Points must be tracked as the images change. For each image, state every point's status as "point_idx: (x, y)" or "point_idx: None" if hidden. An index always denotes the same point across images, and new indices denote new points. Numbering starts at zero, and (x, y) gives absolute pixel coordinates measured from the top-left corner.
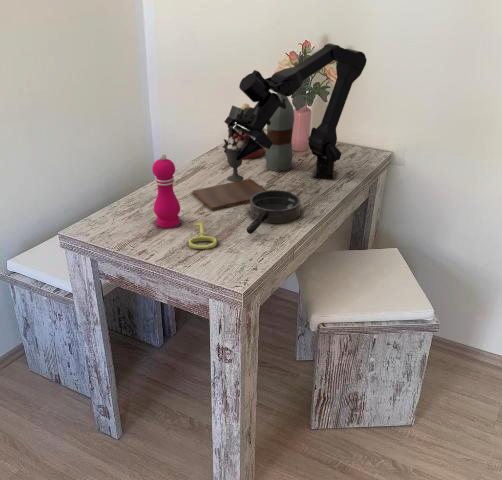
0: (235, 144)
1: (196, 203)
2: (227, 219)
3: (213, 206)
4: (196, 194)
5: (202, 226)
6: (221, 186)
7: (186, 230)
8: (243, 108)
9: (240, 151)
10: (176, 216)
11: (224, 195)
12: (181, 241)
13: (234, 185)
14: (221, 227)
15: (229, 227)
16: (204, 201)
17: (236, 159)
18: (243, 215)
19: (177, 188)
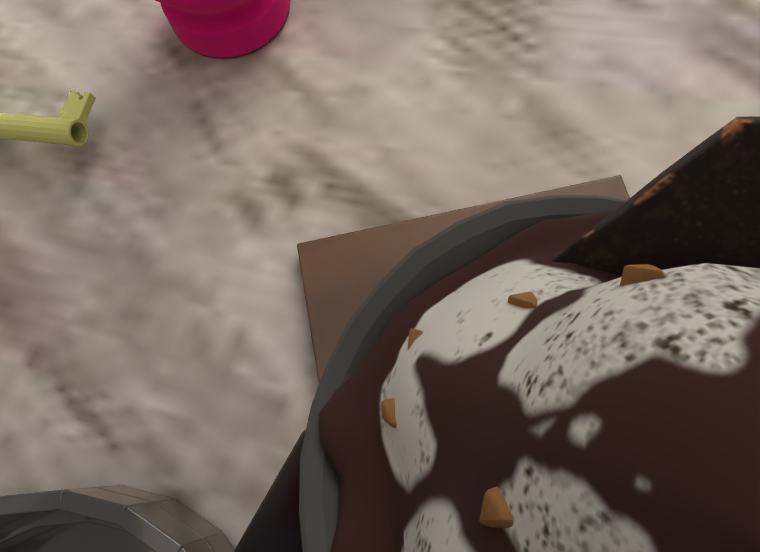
0: (459, 460)
1: (443, 181)
2: (143, 314)
3: (308, 254)
4: (554, 190)
5: (19, 124)
6: None
7: (115, 79)
8: None
9: (257, 541)
10: (185, 11)
11: None
12: (17, 44)
13: None
14: (60, 254)
15: (37, 299)
16: (420, 219)
17: None
18: (153, 435)
19: (725, 108)
